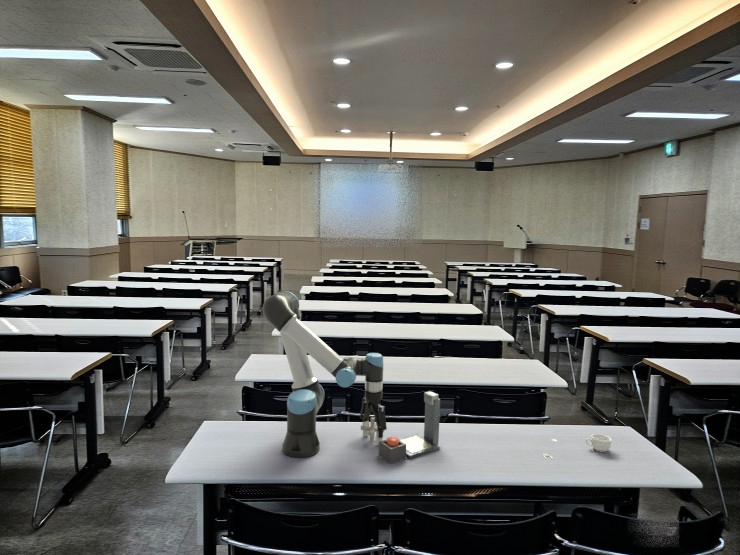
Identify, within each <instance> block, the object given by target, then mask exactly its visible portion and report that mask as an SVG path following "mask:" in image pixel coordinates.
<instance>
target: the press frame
mask: <svg viewBox="0 0 740 555" xmlns="http://www.w3.org/2000/svg"><path fill="white" fill-rule="evenodd" d="M423 402H424V403H425V404H424V426H423V427H424V429H423V436H422V435H420V434H417V433H416V434H413V435H410V436H407V437H403V438H398V439H399V440H400V441H401V442H403V443H405V444H406V459H409V460H413V459H415V458H419V457H421V456H425V455H427V454H431V453H434V452H436V451H440V448H441V447H440V445H439V437H440V436H439V435H440V434H439V433H440V416H441V415H440V414H441V412H440V411H441V399H440V398H439V394H438V393H436V392H433V391H432V390H431V391H430V390H429V391H426V392H424V393H423Z"/></svg>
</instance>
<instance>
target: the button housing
mask: <svg viewBox="0 0 740 555" xmlns="http://www.w3.org/2000/svg"><path fill="white" fill-rule="evenodd" d="M378 457H380V458H381V459H383V460H384V461H386V462H387V463H388V464H390V465H391V464H394V463H397V462H401V461H403V460H406V459H407V457H406V444H405V443H403V442H401V441H400V440H399V445H398V446H395V447H390V446H388V445H387V439H382V441H379V445H378Z"/></svg>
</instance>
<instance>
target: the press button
mask: <svg viewBox="0 0 740 555" xmlns="http://www.w3.org/2000/svg"><path fill="white" fill-rule="evenodd" d="M399 439H400V438H398V437H395V436H389V437H386V440H387V445H388V446H390V447H395V446H398V445H399Z"/></svg>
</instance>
